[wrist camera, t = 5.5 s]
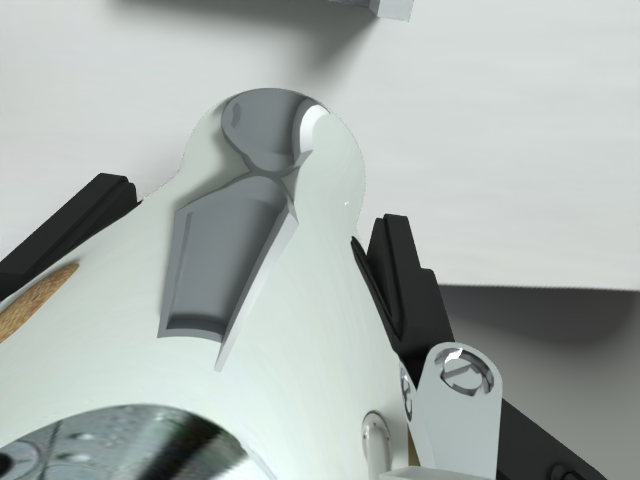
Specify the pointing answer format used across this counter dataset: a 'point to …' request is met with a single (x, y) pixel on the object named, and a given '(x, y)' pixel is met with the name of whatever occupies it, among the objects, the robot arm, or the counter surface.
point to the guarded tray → (385, 7)
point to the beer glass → (217, 322)
